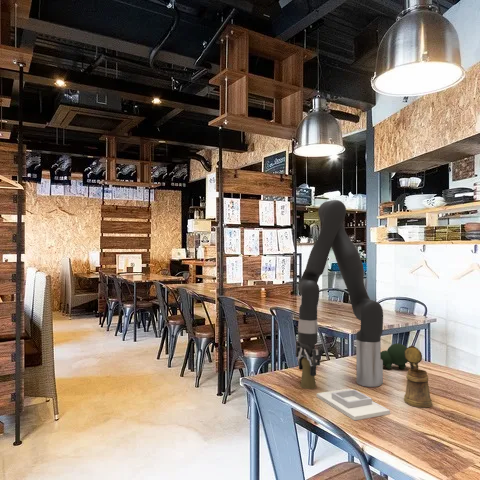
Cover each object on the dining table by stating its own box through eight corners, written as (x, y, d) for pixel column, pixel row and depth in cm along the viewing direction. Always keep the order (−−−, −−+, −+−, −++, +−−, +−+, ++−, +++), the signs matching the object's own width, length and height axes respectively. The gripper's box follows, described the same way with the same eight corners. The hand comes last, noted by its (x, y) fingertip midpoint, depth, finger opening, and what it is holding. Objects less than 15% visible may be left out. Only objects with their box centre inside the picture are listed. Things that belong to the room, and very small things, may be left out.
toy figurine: (361, 373, 184) (421, 371, 180) (357, 330, 184) (416, 327, 180) (358, 367, 193) (415, 365, 189) (354, 326, 193) (411, 323, 190)
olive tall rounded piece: (315, 389, 159) (315, 360, 159) (299, 388, 160) (299, 359, 160) (316, 384, 165) (316, 356, 165) (300, 383, 166) (300, 355, 166)
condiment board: (348, 391, 156) (348, 383, 156) (390, 413, 136) (390, 404, 136) (316, 396, 151) (316, 387, 151) (354, 420, 131) (354, 410, 131)
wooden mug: (424, 394, 154) (424, 345, 154) (435, 408, 140) (434, 355, 140) (399, 393, 155) (399, 344, 155) (407, 406, 142) (407, 353, 142)
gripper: (326, 333, 157) (325, 377, 157) (306, 326, 171) (305, 366, 170) (309, 335, 155) (308, 379, 154) (290, 327, 168) (289, 368, 168)
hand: (307, 372), depth 162 cm, fingers open, 8 cm apart
